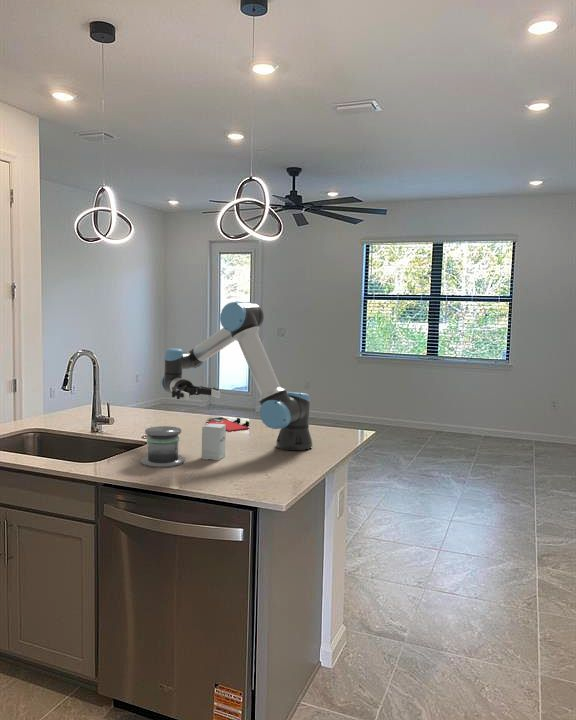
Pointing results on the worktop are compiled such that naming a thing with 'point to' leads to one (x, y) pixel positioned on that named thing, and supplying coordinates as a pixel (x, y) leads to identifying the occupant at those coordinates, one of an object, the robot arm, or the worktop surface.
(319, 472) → the worktop surface
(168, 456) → the grey round canister
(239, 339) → the robot arm
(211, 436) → the supplement box
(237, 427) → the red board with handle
